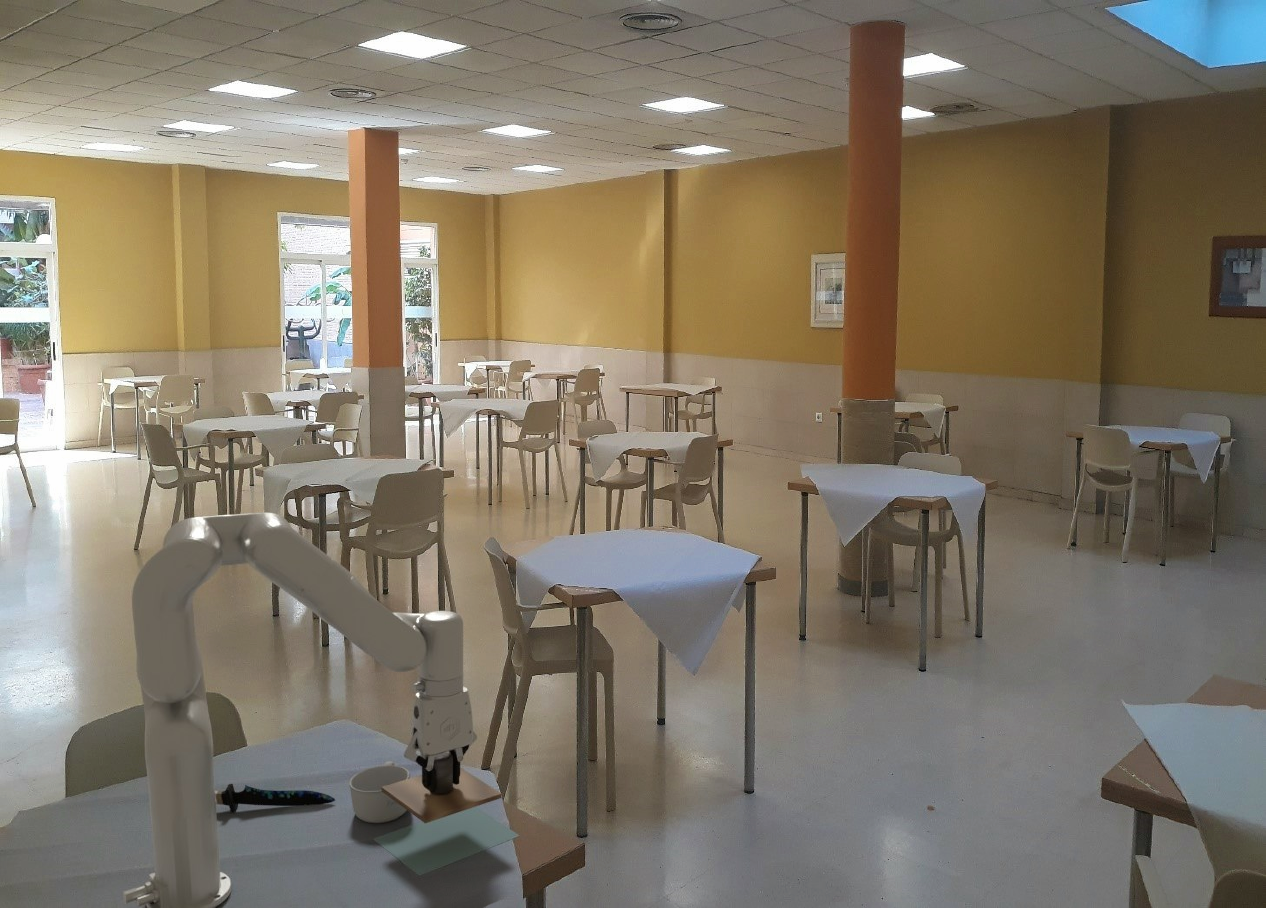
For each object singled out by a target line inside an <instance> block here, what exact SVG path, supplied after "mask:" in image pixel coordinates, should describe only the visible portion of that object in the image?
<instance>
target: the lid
mask: <svg viewBox="0 0 1266 908" xmlns="http://www.w3.org/2000/svg"><path fill="white" fill-rule="evenodd" d="M433 769H435V770H436V790H435V792H430V791H429V790H428V789H426V788H425V787H424V786H423V784H422V774H420V775H417V776H413V777H409V779H406V780H403V781H400V782H396V783H393V784H390V785H386V786H383V787H382V792H383V793H385V794H386V795H387V796H389V797H390V798H391V799H393V800H394V801H395V802H397V803H398V804H399V805H401V806H402V807H404V808H405V809H406V811H408V812H409V813H410V814H411V815H413V816H414V817H416V818H417V819H418V820H419V821H420V822H421V821H422V822H424V823H428V822H431V821H434V820H437V819H440V818H443V817H446V816H449V815H452V814H455V813H458V812H461V811H464V810H467V809H470V808H473V807H479V806H482V805H484V804H487V803H490V802H494V801H496V800H500V799H502V798H503V797H502V796H503V795H502V793H501V792H500V791H498V790H497V789H495V788H494V787H493V786H491V785H489V784H487V783H486V782H484V781H483V780H481V779H480V778H478V777H476V776H474V775H473V774H471V773H470V772H468V771H467V770H465V769H463V768H462V767H460V777H459V784H457V785H455V784H453V755H451V754H449V752H444V753H440V754H437V755H435V758H434V764H433Z"/></svg>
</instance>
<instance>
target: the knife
mask: <svg viewBox="0 0 1266 908" xmlns="http://www.w3.org/2000/svg"><path fill="white" fill-rule="evenodd" d="M215 800H216V805H219V806H220V805H223V806H227V807H228V808H229V810H230V812H231V814H233V813H236V810H237V809H238V807H239V805H248V806H249V805H250V806H269V807H272V806H273V807H275V806H277V807H292V806H293V807H297V806H300V807H301V806H315V805H317V806H318V805H324V804H330V803H333V802H335V801H336V799H335V798H334V797H333V796H331V795H329V794H325V793H323V792H319V791H314V790H303V789H302V790H301V789H300V790H299V789H298V790H297V789H295V790H293V789H292V790H274V789H273V790H272V789H270V790H268V789H260V788H256V787H251V786H249V785H247V784H246V785H244V788H243V790H241V791H238V792H237V791H235V787H234V784H233V783H229V784H228V785H227V786H226V788H225V790H224V791H221V790H215Z"/></svg>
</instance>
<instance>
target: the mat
mask: <svg viewBox="0 0 1266 908" xmlns="http://www.w3.org/2000/svg"><path fill="white" fill-rule="evenodd" d="M520 836H521V835H520V834H518V833H517V832H515V831H514V830H512V829H510V828H509V827H507V826H506V825H505V824H503V823H501V822H500V821H499V820H497V819H495V818H493V817H492V816H490V815H489V814H488V813H486V812H484V811H483V810H482V809H480V808H479V807H478V806H476V807H473V808H470V809H467V810H464V811H461V812H458V813H455V814H452V815H449V816H446V817H443V818H440V819H437V820H434V821H431V822H428V823H424V822H422V821H421V820H420V821H419V822H416V823H413V824H411V825H407V826H405V827H403V828H399V829H397V830H393V831H390V832H388V833H385V834H383V835H379V836H376V837H375V838H372V840H374V841H375V842H376V843H377V844H378V845H380V846H381V847H382V848H384V849H385V850H386V851H388V853H390V854H391V855H392V856H393V857H395V858H396V859H397V860H398V861H400V862H401V863H402V864H403V865H404V866H405V867H407V868H408V869H409V870H410V871H412V873H415V874H416V875H417V876H418V877H420V876H423V875H425V874H429V873H430V872H433V871H435V870H438V869H440V868H443V867H446V866H448V865H450V864H453V863H456V862H458V861H461V860H463V859H465V858H468V857H471V856H473V855H477V854H479V853H481V852H483V851H486V850H488V849H491V848H493V847H496V846H498V845H502V844H503V843H505V842H508V841H511V840H514V839H516V838H518V837H520Z"/></svg>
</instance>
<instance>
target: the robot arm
mask: <svg viewBox="0 0 1266 908" xmlns="http://www.w3.org/2000/svg"><path fill="white" fill-rule="evenodd" d="M244 564H249V566H250V567H251V568H253V570H254V571H256V572H258V573H259V574H260V575H261V576H263V577H264V578H265V579H266V580H269V582H271V583H273V584H274V585H276V586H277V587H278V588H280V589H281V590H283V592H285V593H287V595H290V596H291V597H292V598H293V599H295V600H296V601H297V602H299V603H301V605H304V606H305V607H306V608H307V609H308V610H310V611H311V612H313V613H314V614H315V615H316V616H317V617H319V619H320V620H321V621H324V623H326V624H328V626H330V627H332V628H333V629H334V630H336V631H337V632H338V633H340V634H341V635H342V636H343V637H345V638H346V639H347V640H348V641H350V642H351V643H352V644H353V645H355V646H356V647H357V648H358V649H360V650H361V651H363V652H364V653H366V654H367V655H368V656H370V657H371V658H372V659H374V660H375V661H377V662H378V663H380V665H382V666H384V667H385V668H386V669H388V670H390V671H393V672H397V673H409V672H411V671H414V670H415V669H417V668H418V676H417V682H416V683H413V684H412V686H411V688H412V691H413V692H414V693H415V695H414V700H413V706H412V710H411V711H412V712H411V722H410V725H411V726H410V740H409V743H408V745H407V746H406V749H405V751H404V753H403V757H404V758H406V759H407V760H409V761H412V762H415V763H416V764H417V765H419V766H420V767H421V775H422V784H423V786H424V787H425V788H426V789H428V790H429V791H430V792H435V790H436V770H435V769H433V764H434V758H435V755H437V754H440V753H449V754H451V755H453V784H455V785H457V784H459V777H460V768H461V762H463V760H464V756H465V754H466V753H467V751H469V748H470V747H471V746H472V745H473V743H475V742H476V741H477V739H478V735H477V733H476V732H475V731H474V723H473V712H472V704H471V698H470V695H469V691H468V688H467V687H466V686H464V621H463V618H462V616H461V615H460V614H458V612H454V611H450V610H449V611H448V610H435V611H429V612H427V613H412V612H411V613H410V612H409V613H408V612H397V611H396V612H395V611H394V612H392V611H391V610H389V609H388V608H387V607H385V606H384V605H383V604H382V603H381V602H379V601H378V600H377V599H376V598H375V597H374V596H373V595H372V594H371V593H370V592H369V591H368V590H367V589H366V588H365V587H364V585H363V584H362V583H361V582H360V580H359V579H357V577H355V575H354V574H352V572H350V571H349V570H348V569H347V568H346V567H344V566H343V565H342V564H341V563H339V562H338V561H336V560H335V559H333V558H332V557H331V556H329V555H328V554H327V553H325V552H324V551H322V550H321V549H320V548H319V547H317V546H316V545H314V544H313V543H312V542H311V541H310V540H309V539H307V538H306V537H305V536H303V535H302V534H300V533H299V532H297V530H295V529H294V528H293V527H292V525H291V524H290V523H289V521H288V520H287V519H286V518H284V517H283V516H281V515H280V514H277V513H274V512H249V513H248V512H247V513H235V514H234V513H233V514H222V515H221V514H220V515H208V516H207V515H205V516H204V515H203V516H193V517H188V518H185V519H182V520H180V521H177V522H176V523H174V524H173V525H172V526H170V528H169V529H168V530H167V532H166V534H165V535H164V538H163V543H162V547H161V549H159V550H158V551H157V552H156V553H154V554H153V555H152V556H151V557H150V558H149V559H148V560H147V561H146V562H145V564H144V565H143V566H142V568H141V569H140V571H139V572H138V574H137V576H136V579H135V581H134V584H133V587H132V591H131V592H132V594H131V609H132V621H133V631H134V640H135V648H136V649H135V650H136V674H137V675H136V676H137V680H138V683H139V685H140V689H141V697H142V704H143V711H144V721H145V723H144V724H145V727H144V756H145V757H144V759H145V768H146V777H147V786H148V787H147V788H148V789H147V790H148V801H149V812H150V824H151V825H150V826H151V836H152V837H151V838H152V839H151V840H152V849H153V850H152V853H153V854H152V855H153V865H154V872H152V873H149V874H148V877H149V878H148V879H149V880H148V881H146V882H143V885H141V886H138V887H133V888H131V889H128V890H125V891H123V892H122V900H123V903H124V904H125V905H128V904H131V903H134V902H135V903H136V906H137V907H139V908H140V907H142V906H144V905H146V908H216V907H218V906H219V905H221V904H223V902H224V901H225V900H227V898H228V897H229V896H230V894H231V892H232V880H231V878H230V877H229V875H228V874H225V873H224V872H223V871H221V866H220V849H219V835H218V834H219V833H218V820H217V817H218V816H217V815H218V814H217V804H216V800H215V791H216V790H215V789H216V788H215V787H216V786H215V772H214V769H215V768H214V767H215V766H214V741H213V740H214V739H213V732H212V731H213V730H212V724H211V719H210V714H209V707H208V706H209V705H208V699H207V691H206V684H205V674H204V667H203V656H202V649H201V645H200V643H199V640H198V638H197V637H196V636H197V635H196V627H195V614H194V604H193V601H194V597H195V594H196V592H197V590H198V589H199V588H200V587H201V586H202V585H203V584H205V583H206V582H208V580H210V579H211V578H213V577H214V576H215V575H216V574H217V573H218V571H219V570H220V568H221V567H223V566H224V567H225V566H234V565H235V566H236V565H244ZM416 692H417V693H416ZM418 750H419V752H420V754H418V753H417V751H418Z"/></svg>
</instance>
